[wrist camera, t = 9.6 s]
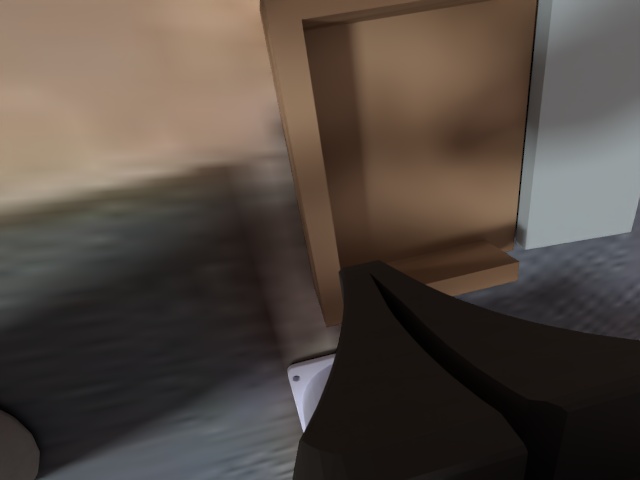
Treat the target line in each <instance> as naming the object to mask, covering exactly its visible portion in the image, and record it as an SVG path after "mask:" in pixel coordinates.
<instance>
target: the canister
mask: <svg viewBox="0 0 640 480" xmlns="http://www.w3.org/2000/svg"><path fill="white" fill-rule="evenodd" d="M39 457H40V451H39V449H38V447H37V445H36V442H35V440H34V438H33V436H32V434H31V433H30V432H29V431H28V430H27V429H26V428H25V427H24V426H23V425H22V424H21V423H20V422H19V421H18V420H17V419H16V418H15V417H13V416H11V415H9V414H7V413H5V412H4V411H2V410H0V480H35V478H36V476H37V474H38V468H39Z"/></svg>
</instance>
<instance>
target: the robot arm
mask: <svg viewBox="0 0 640 480" xmlns="http://www.w3.org/2000/svg"><path fill="white" fill-rule="evenodd" d="M338 273H339V280H340V286H341V292H342V298H343V305H344V308H343V318H342V327H341V333H340V338H339V342H338V347H337V351H336V353H335V354H332V355H328V356H324V357H320V358H316V359H312V360H308V361H304V362H300V363H296V364H292V365H290V366H289V367H288V369H287V372H288V377H289V381H290V384H291V388H292V392H293V395H294V399H295V403H296V406H297V410H298V414H299V417H300V421H301V425H302V428H303V432H304V433H303V435H302V437H301V439H300V441H299V446H298V451H297V456H296V462H295V467H294V474H293V480H640V341H639V340H632V339H624V338H617V337H610V336H602V335H595V334H589V333H583V332H578V331H572V330H567V329H562V328H557V327H552V326H547V325H543V324H538V323H534V322H530V321H526V320H522V319H519V318H515V317H511V316H507V315H504V314H500V313H497V312H494V311H490V310H487V309H484V308H482V307H479V306H476V305H473V304H470V303H467V302H464V301H462V300H459V299H457V298H454V297H452V296H450V295H447V294H445V293H443V292H440V291H438V290H436V289H434V288H432V287H430V286H427V285H425V284H423V283H421V282H419V281H417V280H416V279H414V278H412V277H410V276H408V275H406V274H404V273H402V272H400V271H399V270H397V269H395V268H393V267H391V266H389V265H388V264H386V263H384V262H382V261H380V260H376V261H371V262H367V263H363V264H358V265H354V266H350V267H345V268H341V270H340V271H339V272H338ZM294 376H297V377H294Z"/></svg>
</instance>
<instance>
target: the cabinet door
mask: <svg viewBox="0 0 640 480" xmlns="http://www.w3.org/2000/svg"><path fill="white" fill-rule="evenodd" d="M639 198H640V0H539V4H538V15H537V25H536V35H535V46H534V56H533V67H532V77H531V87H530V98H529V108H528V119H527V129H526V139H525V150H524V160H523V171H522V181H521V192H520V202H519V212H518V223H517V233H516V243H517V244H518V245H519V246H521V247H522V248H523V249H525V250H526V249H532V248H538V247H544V246H550V245H556V244H562V243H568V242H573V241H579V240H585V239H591V238H597V237H603V236H609V235H614V234H620V233H626V232H631V229H632V225H633V221H634V217H635V213H636V209H637V206H638V202H639Z"/></svg>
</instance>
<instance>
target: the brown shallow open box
mask: <svg viewBox="0 0 640 480" xmlns="http://www.w3.org/2000/svg"><path fill="white" fill-rule="evenodd" d="M536 4H537V0H260V14H261V19H262V24H263V29H264V34H265V39H266V44H267V49H268V54H269V59H270V64H271V69H272V74H273V79H274V85H275V90H276V95H277V100H278V105H279V110H280V115H281V120H282V125H283V130H284V135H285V140H286V145H287V150H288V155H289V160H290V166H291V171H292V176H293V181H294V186H295V191H296V196H297V201H298V206H299V211H300V216H301V221H302V226H303V231H304V236H305V241H306V247H307V252H308V257H309V262H310V267H311V272H312V277H313V282H314V287H315V291H316V294H317V297H318V301H319V304H320V307H321V310H322V314H323V317H324V320H325V324H326V327H330V326H334V325H338V324H342V318H343V308H344V305H343V298H342V292H341V286H340V280H339V273H338V272H339V271H340V270H341V268H345V267H350V266H354V265H358V264H363V263H367V262H371V261H376V260H380V261H382V262H384V263H386V264H388V265H389V266H391V267H393V268H395V269H397V270H399V271H400V272H402V273H404V274H406V275H408V276H410V277H412V278H414V279H416V280H417V281H419V282H421V283H423V284H425V285H427V286H430V287H432V288H434V289H436V290H438V291H440V292H443V293H445V294H447V295H450V296H456V295H460V294H464V293H468V292H472V291H476V290H480V289H484V288H488V287H492V286H496V285H500V284H505V283H509V282H513V281H517V279H518V270H519V261H517V260H516V259H514V258H513V257H511V256H510V255H508V254H506V253H505V252H507V251H511V250H513V249H514V238H515V227H516V217H517V206H518V195H519V185H520V174H521V163H522V153H523V142H524V132H525V121H526V110H527V100H528V89H529V78H530V68H531V57H532V46H533V36H534V25H535V14H536Z"/></svg>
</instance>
